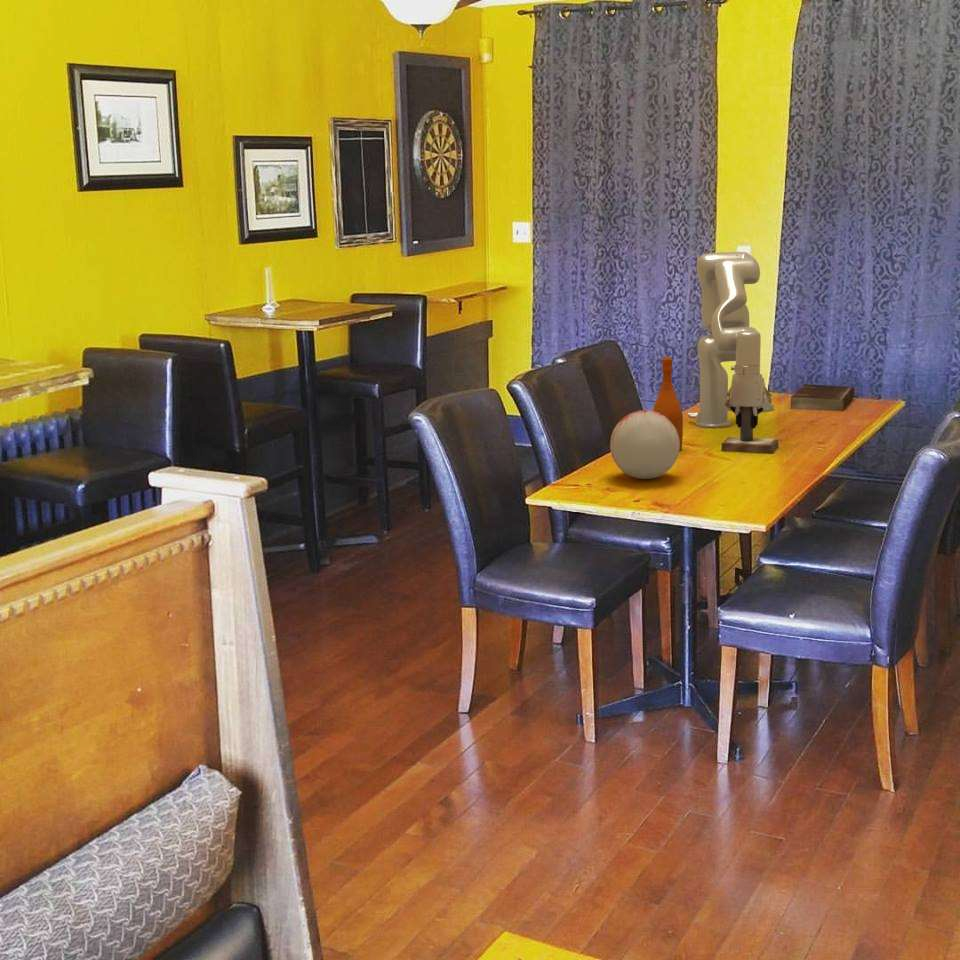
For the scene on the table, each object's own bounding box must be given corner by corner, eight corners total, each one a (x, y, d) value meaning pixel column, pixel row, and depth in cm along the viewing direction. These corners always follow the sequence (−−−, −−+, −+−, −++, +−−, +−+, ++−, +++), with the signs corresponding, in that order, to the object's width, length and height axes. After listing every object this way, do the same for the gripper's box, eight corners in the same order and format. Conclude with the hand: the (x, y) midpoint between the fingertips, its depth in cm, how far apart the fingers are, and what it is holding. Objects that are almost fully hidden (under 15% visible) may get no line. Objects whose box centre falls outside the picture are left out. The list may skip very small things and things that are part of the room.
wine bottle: (686, 447, 396) (686, 355, 389) (677, 453, 387) (678, 359, 380) (656, 445, 400) (656, 354, 393) (647, 452, 392) (647, 358, 384)
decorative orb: (608, 471, 368) (607, 405, 363) (675, 469, 367) (675, 403, 363) (613, 488, 348) (612, 419, 343) (684, 486, 347) (684, 417, 342)
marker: (738, 441, 389) (739, 397, 386) (741, 438, 393) (742, 395, 390) (751, 441, 388) (752, 398, 385) (754, 439, 391) (754, 395, 388)
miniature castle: (777, 411, 449) (775, 370, 446) (732, 415, 449) (730, 374, 446) (765, 406, 464) (764, 367, 462) (722, 410, 464) (721, 370, 461)
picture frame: (721, 450, 389) (721, 442, 389) (728, 444, 398) (728, 436, 398) (772, 453, 383) (772, 445, 382) (778, 447, 392) (778, 438, 391)
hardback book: (842, 412, 446) (843, 398, 445) (790, 410, 454) (790, 396, 452) (854, 398, 471) (854, 385, 470) (804, 396, 479) (804, 384, 478)
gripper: (718, 371, 385) (717, 428, 389) (772, 372, 378) (771, 431, 383) (723, 367, 392) (723, 423, 396) (776, 369, 385) (775, 426, 390)
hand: (746, 426), depth 389 cm, fingers closed on marker, 4 cm apart
